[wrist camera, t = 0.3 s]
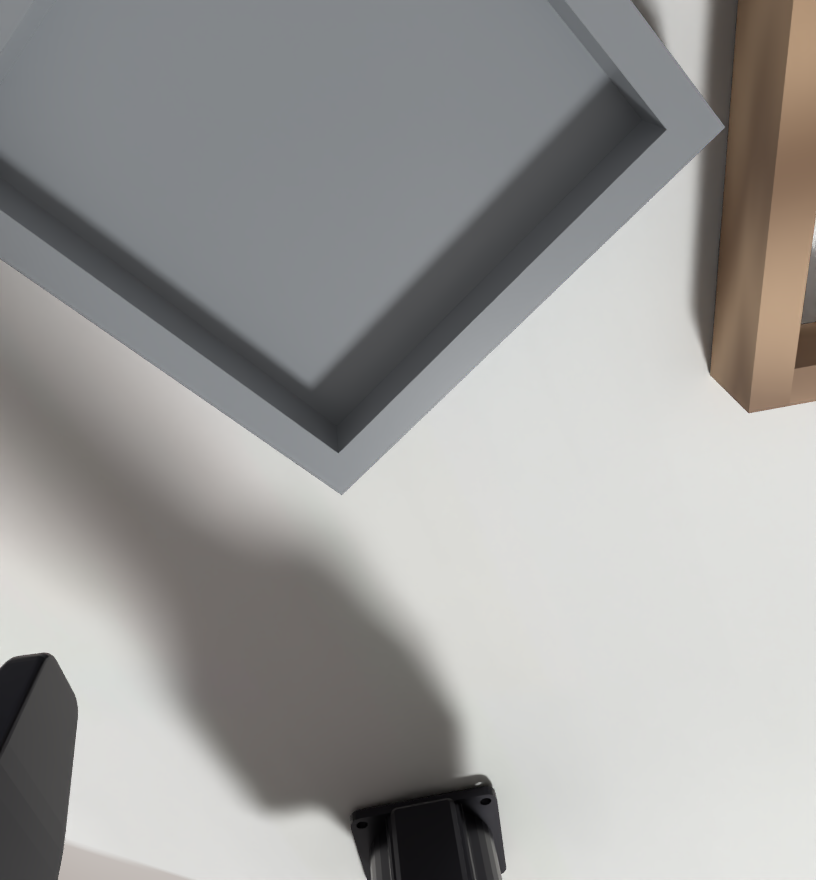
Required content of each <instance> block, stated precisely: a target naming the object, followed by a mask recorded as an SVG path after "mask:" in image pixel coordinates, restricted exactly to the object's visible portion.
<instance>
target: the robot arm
mask: <svg viewBox="0 0 816 880" xmlns="http://www.w3.org/2000/svg"><path fill="white" fill-rule="evenodd" d="M77 720H78V706H77V701H76V697H75V694H74V692H73V690H72V689H71V687H70V685H69V683H68V681H67V679H66V677H65V675H64V674H63V672H62V670H61V668H60V666H59V664H58V662H57V661H56V659H55V658H54V656H52V655H51V654H49V653H37V654H29V655H22V656H16V657H13V658H11V659H10V660H8V661H7V662H5V663H4V664H3V665H2V667H1V668H0V880H58V875H59V870H60V865H61V860H62V854H63V847H64V840H65V832H66V823H67V814H68V805H69V795H70V786H71V776H72V767H73V758H74V748H75V739H76V729H77ZM350 821H351V830H352V833H353V836H354V839H355V842H356V845H357V849H358V852H359V855H360V858H361V861H362V864H363V868H364V871H365V874H366V877H367V880H502V876H501V874H502V873H504V871H505V870H506V863H505V856H504V849H503V841H502V834H501V826H500V819H499V812H498V804H497V798H496V793H495V790H494V789H493V788H492V787H489V786H483V787H478V788H472V789H467V790H462V791H457V792H451V793H446V794H441V795H436V796H430V797H425V798H420V799H415V800H409V801H404V802H399V803H394V804H388V805H383V806H378V807H373V808H367V809H362V810H358V811H355V812H354V813H352V814H351V816H350Z"/></svg>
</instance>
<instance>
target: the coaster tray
mask: <svg viewBox="0 0 816 880" xmlns="http://www.w3.org/2000/svg"><path fill="white" fill-rule="evenodd" d="M724 128H725V126H724V125H723V123H722V122H721V121H720V119H719V118H718V117H717V115H716V114H715V113H714V111H713V110H712V109H711V107H710V106H709V105H708V103H707V102H706V100H705V99H704V98H703V96H702V95H701V94H700V92H699V91H698V90H697V88H696V87H695V86H694V84H693V83H692V82H691V80H690V79H689V78H688V76H687V75H686V74H685V72H684V71H683V70H682V68H681V67H680V65H679V64H678V63H677V61H676V60H675V59H674V57H673V56H672V55H671V53H670V52H669V51H668V49H667V48H666V47H665V45H664V44H663V43H662V41H661V40H660V39H659V37H658V36H657V35H656V33H655V32H654V31H653V29H652V28H651V26H650V25H649V24H648V22H647V21H646V20H645V18H644V17H643V16H642V14H641V13H640V12H639V10H638V9H637V8H636V6H635V5H634V4H633V2H632V1H631V0H0V259H1V260H3V261H4V262H5V263H7V264H8V265H10V266H11V267H13V268H14V269H16V270H17V271H18V272H20V273H21V274H23V275H24V276H26V277H27V278H29V279H30V280H32V281H33V282H34V283H36V284H37V285H39V286H40V287H42V288H43V289H45V290H46V291H47V292H49V293H50V294H52V295H53V296H55V297H56V298H58V299H59V300H60V301H62V302H63V303H65V304H66V305H68V306H69V307H71V308H72V309H73V310H75V311H76V312H78V313H79V314H81V315H82V316H84V317H85V318H86V319H88V320H89V321H91V322H92V323H94V324H95V325H97V326H98V327H99V328H101V329H102V330H104V331H105V332H107V333H108V334H110V335H111V336H112V337H114V338H115V339H117V340H118V341H120V342H121V343H123V344H124V345H125V346H127V347H128V348H130V349H131V350H133V351H134V352H136V353H137V354H139V355H140V356H141V357H143V358H144V359H146V360H147V361H149V362H150V363H152V364H153V365H154V366H156V367H157V368H159V369H160V370H162V371H163V372H165V373H166V374H167V375H169V376H170V377H172V378H173V379H175V380H176V381H178V382H179V383H180V384H182V385H183V386H185V387H186V388H188V389H189V390H191V391H192V392H193V393H195V394H196V395H198V396H199V397H201V398H202V399H204V400H205V401H206V402H208V403H209V404H211V405H212V406H214V407H215V408H217V409H218V410H219V411H221V412H222V413H224V414H225V415H227V416H228V417H230V418H231V419H233V420H234V421H235V422H237V423H238V424H240V425H241V426H243V427H244V428H246V429H247V430H248V431H250V432H251V433H253V434H254V435H256V436H257V437H259V438H260V439H261V440H263V441H264V442H266V443H267V444H269V445H270V446H272V447H273V448H274V449H276V450H277V451H279V452H280V453H282V454H283V455H285V456H286V457H287V458H289V459H290V460H292V461H293V462H295V463H296V464H298V465H299V466H300V467H302V468H303V469H305V470H306V471H308V472H309V473H311V474H312V475H313V476H315V477H316V478H318V479H319V480H321V481H322V482H324V483H325V484H326V485H328V486H329V487H331V488H332V489H334V490H335V491H337V492H338V493H340V494H341V495H342V494H343V493H345V492H346V491H347V490H348V489H349V488H350V487H351V486H352V485H353V484H354V483H355V482H356V481H357V480H358V479H359V478H360V477H361V476H362V475H363V474H364V473H365V472H366V471H367V470H368V469H370V468H371V467H372V466H373V465H374V464H375V463H376V462H377V461H378V460H379V459H380V458H381V457H382V456H383V455H384V454H385V453H386V452H387V451H388V450H389V449H390V448H391V447H392V446H394V445H395V444H396V443H397V442H398V441H399V440H400V439H401V438H402V437H403V436H404V435H405V434H406V433H407V432H408V431H409V430H410V429H411V428H412V427H413V426H414V425H415V424H416V423H418V422H419V421H420V420H421V419H422V418H423V417H424V416H425V415H426V414H427V413H428V412H429V411H430V410H431V409H432V408H433V407H434V406H435V405H436V404H437V403H438V402H439V401H440V400H441V399H443V398H444V397H445V396H446V395H447V394H448V393H449V392H450V391H451V390H452V389H453V388H454V387H455V386H456V385H457V384H458V383H459V382H460V381H461V380H462V379H463V378H464V377H465V376H467V375H468V374H469V373H470V372H471V371H472V370H473V369H474V368H475V367H476V366H477V365H478V364H479V363H480V362H481V361H482V360H483V359H484V358H485V357H486V356H487V355H488V354H489V353H490V352H492V351H493V350H494V349H495V348H496V347H497V346H498V345H499V344H500V343H501V342H502V341H503V340H504V339H505V338H506V337H507V336H508V335H509V334H510V333H511V332H512V331H513V330H514V329H516V328H517V327H518V326H519V325H520V324H521V323H522V322H523V321H524V320H525V319H526V318H527V317H528V316H529V315H530V314H531V313H532V312H533V311H534V310H535V309H536V308H537V307H538V306H539V305H541V304H542V303H543V302H544V301H545V300H546V299H547V298H548V297H549V296H550V295H551V294H552V293H553V292H554V291H555V290H556V289H557V288H558V287H559V286H560V285H561V284H562V283H563V282H565V281H566V280H567V279H568V278H569V277H570V276H571V275H572V274H573V273H574V272H575V271H576V270H577V269H578V268H579V267H580V266H581V265H582V264H583V263H584V262H585V261H586V260H587V259H589V258H590V257H591V256H592V255H593V254H594V253H595V252H596V251H597V250H598V249H599V248H600V247H601V246H602V245H603V244H604V243H605V242H606V241H607V240H608V239H609V238H610V237H611V236H612V235H614V234H615V233H616V232H617V231H618V230H619V229H620V228H621V227H622V226H623V225H624V224H625V223H626V222H627V221H628V220H629V219H630V218H631V217H632V216H633V215H634V214H635V213H636V212H638V211H639V210H640V209H641V208H642V207H643V206H644V205H645V204H646V203H647V202H648V201H649V200H650V199H651V198H652V197H653V196H654V195H655V194H656V193H657V192H658V191H659V190H660V189H661V188H663V187H664V186H665V185H666V184H667V183H668V182H669V181H670V180H671V179H672V178H673V177H674V176H675V175H676V174H677V173H678V172H679V171H680V170H681V169H682V168H683V167H684V166H685V165H687V164H688V163H689V162H690V161H691V160H692V159H693V158H694V157H695V156H696V155H697V154H698V153H699V152H700V151H701V150H702V149H703V148H704V147H705V146H706V145H707V144H708V143H709V142H711V141H712V140H713V139H714V138H715V137H716V136H717V135H718V134H719V133H720V132H721V131H722V130H723V129H724Z"/></svg>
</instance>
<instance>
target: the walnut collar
mask: <svg viewBox="0 0 816 880" xmlns="http://www.w3.org/2000/svg"><path fill="white" fill-rule="evenodd" d="M815 218H816V0H738V10H737V23H736V36H735V50H734V63H733V76H732V89H731V103H730V116H729V129H728V143H727V156H726V169H725V182H724V196H723V209H722V222H721V235H720V249H719V262H718V275H717V289H716V302H715V315H714V328H713V342H712V355H711V368H710V375H711V376H712V377H713V378H714V379H715V380H716V381H717V382H718V383H719V384H720V385H721V386H722V387H723V388H724V389H725V390H726V391H727V392H728V393H729V394H730V395H731V396H732V397H733V398H734V399H735V400H736V401H737V402H738V403H739V404H740V405H741V406H742V407H743V408H744V409H745V410H746V411H747V412H748V413H752V412H758V411H763V410H769V409H774V408H780V407H785V406H791V405H796V404H802V403H807V402H813V401H816V322H813V323H807V324H802V325H801V318H802V311H803V304H804V297H805V290H806V283H807V275H808V268H809V261H810V254H811V247H812V240H813V233H814V225H815Z"/></svg>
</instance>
